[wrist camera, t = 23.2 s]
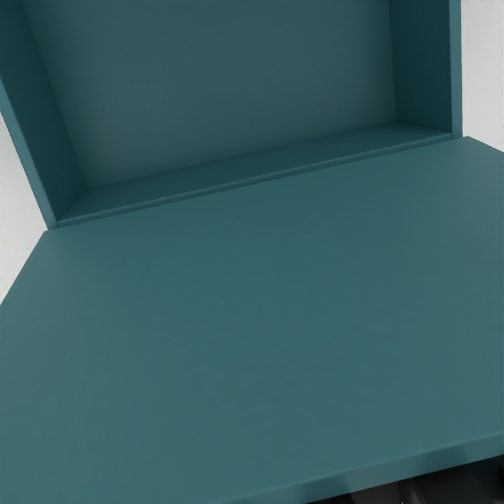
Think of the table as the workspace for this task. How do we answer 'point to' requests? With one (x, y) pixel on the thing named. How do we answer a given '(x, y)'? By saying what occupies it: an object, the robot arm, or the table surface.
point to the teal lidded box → (217, 93)
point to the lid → (263, 339)
